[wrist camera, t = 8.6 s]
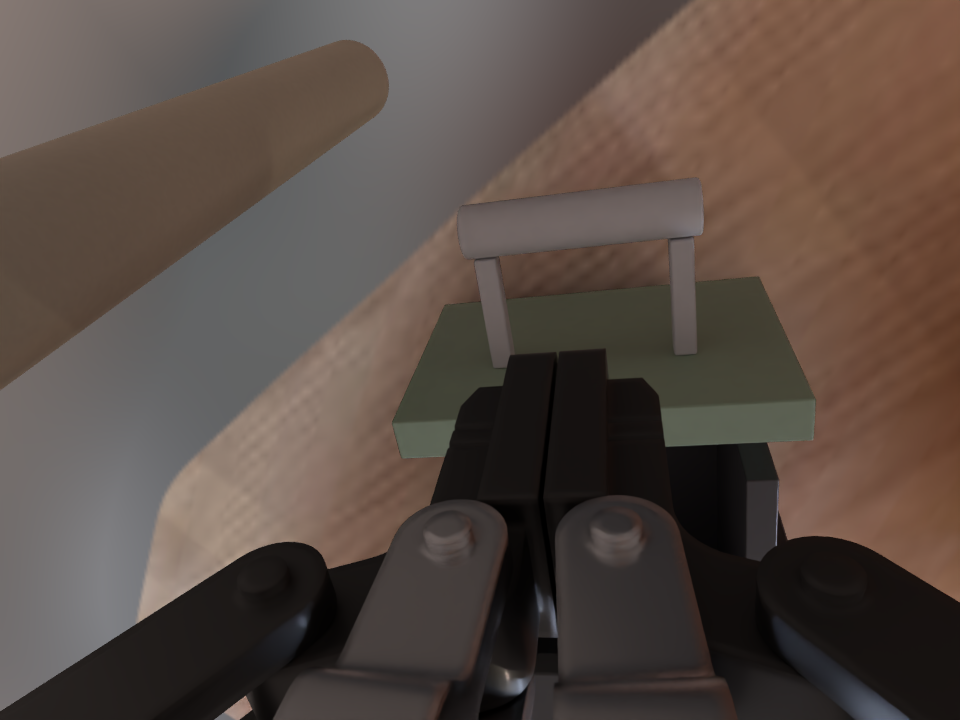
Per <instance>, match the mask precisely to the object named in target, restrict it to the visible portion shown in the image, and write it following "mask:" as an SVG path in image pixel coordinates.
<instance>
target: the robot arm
mask: <svg viewBox="0 0 960 720" xmlns="http://www.w3.org/2000/svg"><path fill="white" fill-rule="evenodd" d="M454 427H455V431H453V433H452V436H451V439H450V442H449V448H448V449H447V452H446V455H445V458H444V462H443V465H442V468H441V471H440V475H439V478H438V481H437V484H436V487H435V491H434V494H433V497H432V500H431V504H430V506H428V507H425V508H423V509H421V510H420V511H418V512H416V513H415V514H413V515H412V516H411V517H409V518H408V519H407V520H406V521H405V522H404V523H403V524H402V525H401V527H400V528H399V529H398V531H397V533H396V534H395V536H394V538H393V541H392V543H391V545H390V547H389V549H388V552H386V553H384V554H381V555H379V556H376V557H373V558H369V559H366V560H362V561H358V562H354V563H351V564H347V565H343V566H339V567H335V568H331V569H327V567H326V564H325V561H324V559H323V557H322V555H321V554H320V553H319V552H318V551H317V550H316V549H314V548H313V547H311V546H309V545H306V544H303V543H298V542H282V543H275V544H271V545H267V546H264V547H261V548H258V549H256V550H254V551H251V552H249V553H247V554H245V555H244V556H242V557H240V558H239V559H237V560H236V561H234V562H232V563H231V564H229V565H228V566H226V567H225V568H223V569H221V570H220V571H218V572H217V573H215V574H214V575H212V576H211V577H209V578H207V579H206V580H204V581H203V582H201V583H200V584H198V585H197V586H195V587H193V588H192V589H190V590H189V591H187V592H186V593H184V594H183V595H181V596H179V597H178V598H176V599H175V600H173V601H172V602H170V603H168V604H167V605H165V606H164V607H162V608H161V609H159V610H158V611H156V612H154V613H153V614H151V615H150V616H148V617H147V618H145V619H144V620H142V621H140V622H139V623H137V624H136V625H134V626H133V627H131V628H130V629H128V630H126V631H125V632H123V633H122V634H120V635H119V636H117V637H116V638H114V639H112V640H111V641H109V642H108V643H106V644H105V645H103V646H102V647H100V648H98V649H97V650H95V651H94V652H92V653H91V654H89V655H88V656H86V657H84V658H83V659H81V660H80V661H78V662H77V663H75V664H73V665H72V666H70V667H69V668H67V669H66V670H64V671H63V672H61V673H59V674H58V675H56V676H55V677H53V678H52V679H50V680H48V681H47V682H46V683H44V684H42V685H41V686H39V687H38V688H36V689H35V690H33V691H31V692H30V693H28V694H27V695H25V696H24V697H22V698H20V699H19V700H17V701H16V702H14V703H13V704H11V705H10V706H8V707H6V708H5V709H3V710H2V711H0V720H214V719H215V718H217V717H218V716H219V715H221V714H222V713H223V712H225V711H226V710H227V709H229V708H230V707H231V706H232V705H234V704H235V703H236V702H238V701H239V700H240V699H242V698H243V697H244V696H246V697H247V699H248V701H249V703H250V705H251V707H252V709H253V710H252V711H250V712H249V713H248V714H246V715H245V716H244V717H243V718H241V719H240V720H531V717H532V711H533V705H534V700H535V692H536V685H535V678H534V669H535V664H536V654H537V643H538V637H555V638H558V682H555V683H554V690H553V720H960V602H958V601H956V600H955V599H953V598H951V597H950V596H948V595H946V594H945V593H943V592H941V591H940V590H938V589H936V588H935V587H933V586H931V585H930V584H928V583H926V582H925V581H923V580H921V579H920V578H918V577H916V576H915V575H913V574H911V573H910V572H908V571H907V570H905V569H903V568H902V567H900V566H898V565H897V564H895V563H893V562H892V561H890V560H888V559H887V558H885V557H883V556H882V555H880V554H878V553H876V552H875V551H873V550H871V549H869V548H867V547H864V546H862V545H859V544H857V543H854V542H851V541H847V540H843V539H838V538H833V537H822V536H810V537H801V538H795V539H791V540H788V541H785V542H783V543H781V544H779V545H777V546H775V547H773V548H772V549H771V550H770V551H768V552H767V553H766V554H765V556H764V557H763V558H762V560H761V561H757V560H752V559H748V558H744V557H739V556H735V555H731V554H728V553H724V552H721V551H718V550H716V549H713V548H711V547H709V546H707V545H705V544H703V543H701V542H699V541H698V540H697V539H695V538H694V537H693V536H691V535H690V534H689V533H688V532H687V531H686V530H685V529H684V528H683V527H682V525H681V524H680V523H679V521H678V519H677V517H676V515H675V513H674V509H673V503H672V495H671V487H670V479H669V471H668V463H667V455H666V448H665V440H664V432H663V424H662V416H661V408H660V400H659V395H658V394H657V393H656V391H655V390H654V389H653V388H652V387H651V386H650V385H649V384H648V383H647V382H646V381H645V380H644V379H643V378H642V377H641V378H624V379H609V375H608V363H607V353H606V348H601V349H586V350H571V351H560V352H559V356H557V353H556V352H544V353H529V354H514V355H510V356H509V360H508V364H507V369H506V373H505V377H504V382H503V386H491V387H479V388H478V389H477V390H476V391H475V392H474V393H473V394H472V395H471V396H470V397H469V398H468V399H467V400H466V401H465V402H464V403H463V404H462V405H461V407H460V410H459V413H458V416H457V420H456V423H455V426H454Z"/></svg>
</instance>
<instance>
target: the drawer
mask: <svg viewBox="0 0 960 720" xmlns="http://www.w3.org/2000/svg"><path fill="white" fill-rule="evenodd" d="M703 228H704V206H703V193H702V186H701V182H700V180H699V178H697V177H695V178H687V179H678V180H670V181H662V182H653V183H645V184H637V185H629V186H620V187H612V188H604V189H595V190H587V191H579V192H571V193H562V194H554V195H546V196H537V197H529V198H521V199H513V200H504V201H496V202H488V203H479V204H471V205H463V206H461V207H460V208H459V210H458V215H457V231H458V239H459V244H460V248H461V251H462V254H463V256H464V257H465V258H466V259H475V261H474V265H475V271H476V276H477V282H478V287H479V293H480V298H481V302H471V303H460V304H449V305H445V306H444V308H443V310H442V313H441V315H440V317H439V319H438V322H437V324H436V326H435V328H434V330H433V333H432V335H431V337H430V339H429V341H428V344H427V346H426V348H425V350H424V353H423V355H422V357H421V359H420V361H419V364H418V366H417V368H416V370H415V372H414V375H413V377H412V379H411V381H410V384H409V386H408V388H407V390H406V392H405V395H404V397H403V399H402V401H401V403H400V406H399V408H398V410H397V412H396V415H395V417H394V419H393V421H392V426H393V429H394V433H395V437H396V440H397V444H398V448H399V452H400V455H401V458H423V457H445V455H446V452H447V449H448V448H449V442H450V439H451V436H452V433H453V431H455V427H454V426H455V423H456V420H457V416H458V413H459V410H460V407H461V405H462V404H463V403H464V402H465V401H466V400H467V399H468V398H469V397H470V396H471V395H472V394H473V393H474V392H475V391H476V390H477V389H478V388H479V387H491V386H503V382H504V377H505V373H506V369H507V364H508V360H509V356H510V355H514V354H529V353H544V352H556V353H557V356H559V352H560V351H571V350H586V349H601V348H606V353H607V363H608V375H609V379H624V378H641V377H642V378H643V379H644V380H645V381H646V382H647V383H648V384H649V385H650V386H651V387H652V388H653V389H654V390H655V391H656V393H657V394H658V395H659V400H660V408H661V416H662V424H663V432H664V440H665V448H666V455H667V463H668V471H669V479H670V487H671V495H672V503H673V509H674V513H675V515H676V517H677V519H678V521H679V523H680V524H681V525H682V527H683V528H684V529H685V530H686V531H687V532H688V533H689V534H690V535H691V536H693V537H694V538H695V539H697V540H698V541H699V542H701V543H703V544H705V545H707V546H709V547H711V548H713V549H716V550H718V551H721V552H724V553H728V554H731V555H735V556H739V557H744V558H748V559H752V560H757V561H761V560H762V558H763V557H764V556H765V554H766V553H767V552H768V551H770V550H771V549H772V548H773V547H775V546H777V525H778V498H779V478H778V475H777V472H776V469H775V466H774V463H773V460H772V456H771V453H770V450H769V447H768V444H767V442H783V441H805V440H813V438H814V423H815V407H816V399H815V397H814V394H813V392H812V390H811V388H810V386H809V384H808V381H807V379H806V377H805V375H804V373H803V371H802V368H801V366H800V364H799V362H798V360H797V358H796V356H795V353H794V351H793V349H792V347H791V345H790V343H789V340H788V338H787V336H786V334H785V332H784V330H783V328H782V325H781V323H780V321H779V319H778V317H777V315H776V312H775V310H774V308H773V306H772V304H771V302H770V299H769V297H768V295H767V293H766V291H765V289H764V287H763V284H762V282H761V280H760V278H759V277H746V278H735V279H724V280H713V281H702V282H695V252H694V238H693V236H699V235H701V234H702V232H703ZM660 239H668V250H669V272H670V284H669V285H658V286H647V287H636V288H625V289H614V290H603V291H592V292H581V293H570V294H559V295H548V296H537V297H526V298H515V299H506V297H505V290H504V284H503V278H502V272H501V266H500V260H499V256H507V255H516V254H526V253H536V252H545V251H555V250H564V249H574V248H584V247H593V246H603V245H612V244H622V243H632V242H641V241H651V240H660ZM537 653H558V638H555V637H538V643H537Z"/></svg>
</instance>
